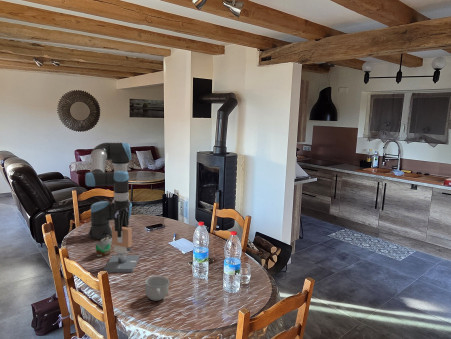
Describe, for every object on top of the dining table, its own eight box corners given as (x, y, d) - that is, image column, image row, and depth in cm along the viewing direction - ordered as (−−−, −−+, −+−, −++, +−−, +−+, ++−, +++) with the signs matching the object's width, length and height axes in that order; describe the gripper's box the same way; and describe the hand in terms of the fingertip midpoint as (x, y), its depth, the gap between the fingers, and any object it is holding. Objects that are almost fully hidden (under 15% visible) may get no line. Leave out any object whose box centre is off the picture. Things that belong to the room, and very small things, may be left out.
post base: (112, 258, 185) (112, 244, 184) (138, 258, 186) (138, 245, 185) (103, 272, 168) (103, 257, 167) (132, 272, 169) (132, 257, 168)
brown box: (109, 251, 174) (108, 228, 172) (118, 246, 181) (118, 224, 179) (125, 254, 170) (125, 231, 168) (134, 249, 177) (134, 227, 175)
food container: (104, 259, 183) (104, 243, 182) (95, 258, 185) (94, 241, 183) (116, 251, 195) (116, 235, 194) (107, 250, 196) (106, 234, 195)
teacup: (147, 290, 152) (147, 275, 150) (170, 290, 153) (170, 275, 151) (142, 307, 138) (142, 290, 137) (167, 307, 139) (167, 290, 138)
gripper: (120, 203, 163) (121, 247, 166) (134, 196, 179) (135, 236, 182) (106, 202, 164) (107, 245, 167) (122, 195, 180) (123, 235, 184)
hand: (122, 240), depth 175 cm, fingers closed on brown box, 4 cm apart
